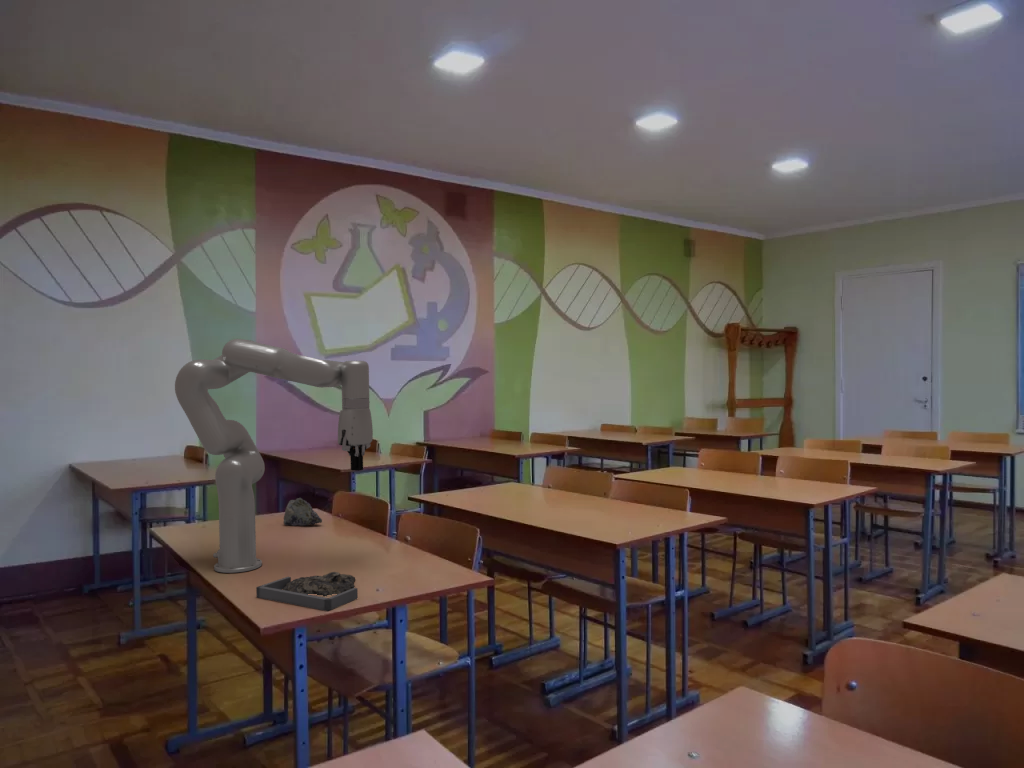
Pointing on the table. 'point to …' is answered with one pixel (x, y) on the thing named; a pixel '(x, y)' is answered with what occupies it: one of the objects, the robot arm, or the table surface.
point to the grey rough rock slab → (322, 584)
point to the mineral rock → (300, 513)
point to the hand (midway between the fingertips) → (356, 470)
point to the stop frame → (303, 596)
